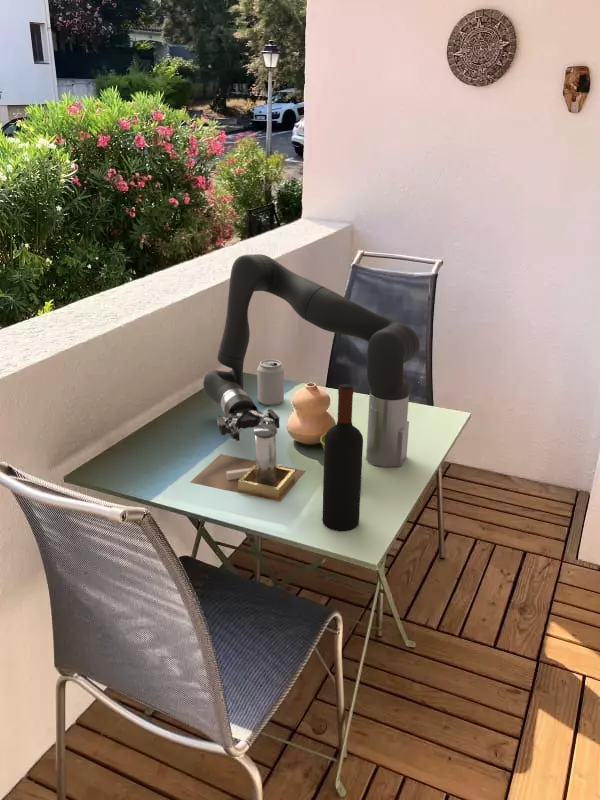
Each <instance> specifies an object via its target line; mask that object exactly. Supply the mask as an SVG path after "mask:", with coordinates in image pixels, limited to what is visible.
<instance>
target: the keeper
mask: <svg viewBox="0 0 600 800" xmlns="http://www.w3.org/2000/svg"><path fill="white" fill-rule="evenodd" d="M276 475H277V478H282V479H283V480H282V481H281V483H280V484H279V485H278V486H277V487H273V486H269V485H264V484H259V483H254V482H251V481H252V480H253V479H254V478H255V477H256V463H255V464H254V465H253V466H252V467H251V468H250V469H249V470H248V471H247V472H246V473H245V475H244V476H243V477H242V478H241V479H240V480H239V481H238V491H242V492H247V493H251V494H256V495H261V496H265V497H270V498H275V499H279V498H280V497H281V496H282V495H283V493H284V492H285V491H286V490H287V489H288V487H289V486H290V485H291V484H292V483H293V481H294V480H295V470H293V469H288V468H283V467H278V466H276Z"/></svg>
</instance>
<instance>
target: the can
mask: <svg viewBox="0 0 600 800" xmlns="http://www.w3.org/2000/svg"><path fill="white" fill-rule="evenodd" d="M282 364H283V363H282V362H281V361H280V360H278V359H272V358H270V359H269V358H268V359H263V360H261V361H260V362H259V365H258V367H257V368H256V369H257V400H258V402H260V403H261V404H262V405H264V406H270V407H271V405H272V406H277V404H278V405H279V403H280V404H281V403H282V402H283V401H284V398H285V397H284V396H285V394H284V393H285V367H284V366H283V365H282Z"/></svg>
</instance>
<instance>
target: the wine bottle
mask: <svg viewBox="0 0 600 800" xmlns="http://www.w3.org/2000/svg"><path fill="white" fill-rule="evenodd" d="M337 395H338V396H337V398H338V399H337V421H336V424H334V425H333V426H332V427H330V428H329V429H328V431H326V432H325V433H326V435H325V444H324V448H323V454H324V455H323V459H324V460H323V482H322V483H323V485H322V487H323V488H322V519H321V521H322V524H323V525H324V526H325V528H326V529H329V530H332V531H334V532H342V533H343V532H348V531H352V530H355V529H356V528H358V526H359V523H360V510H361V508H360V507H361V493H362V492H361V490H362V489H361V488H362V470H363V469H362V468H363V453H364V452H363V451H364V449H363V448H364V437H363V435H362V433H361V431H360V430H359V429H358V428H357V427H355V425H353V422H352V421H353V399H354V398H353V397H354V386H353V385H352V384H348V383H343V384H342V383H341V384H339V385H338V390H337Z"/></svg>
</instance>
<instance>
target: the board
mask: <svg viewBox="0 0 600 800" xmlns="http://www.w3.org/2000/svg"><path fill="white" fill-rule="evenodd" d="M255 463H256V460H252V459H247V458H242V457H238V456H233V455H227V454H219V455H218V456H216V458H215V459H214V460H212V461H211V462H210V463H209V464H208V465H207V466H206V467H205V468H204V469H203V470H202V471H200V472H199V473H198V474H197V475H196V476H194V478H193V479H192V480H190V481H189V482H190V483H193V484H196V485H202V486H205V487H211V488H215V489H220V490H223V491H229V492H233V493H238V494H244V495H247V496H252V497H255V498H257V497H258V498H261V499H266V500H271V501H276V502H278V503H279V502H282V500H283V499H284V498H285V496H286V495H287V494H288V493H289V492H290V491H291V490H292V488H293V487H294V486H295V485H296V483H297V482H298V481H299V480H300V479H301V478H302V476H303V475H304V474H305V472H306V470H303V469H297V468H293V467H288V466H284V465H283V468H288V469H293V470H295V480H294V481H293V483H292V484H291V485H290V486H289V487H288V489H287V490H286V491H285V492H284V493H283V495H282V496H281V497H280V498H279V499H275V498H270V497H265V496H261V495H256V494H251V493H247V492H242V491H238V481H239V480H240V479H241V478H238V479H231V480H228V479H227V475H226V471H232V470H239V469H246V468H251V467H252V466H253V465H254V464H255ZM282 480H283V479H282V478H277V485H276V487H277V486H278V485H279V484H280V483H281V481H282ZM251 482H254V483H257V476H256V477H255V478H254V479H253V480H252V481H251Z"/></svg>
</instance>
